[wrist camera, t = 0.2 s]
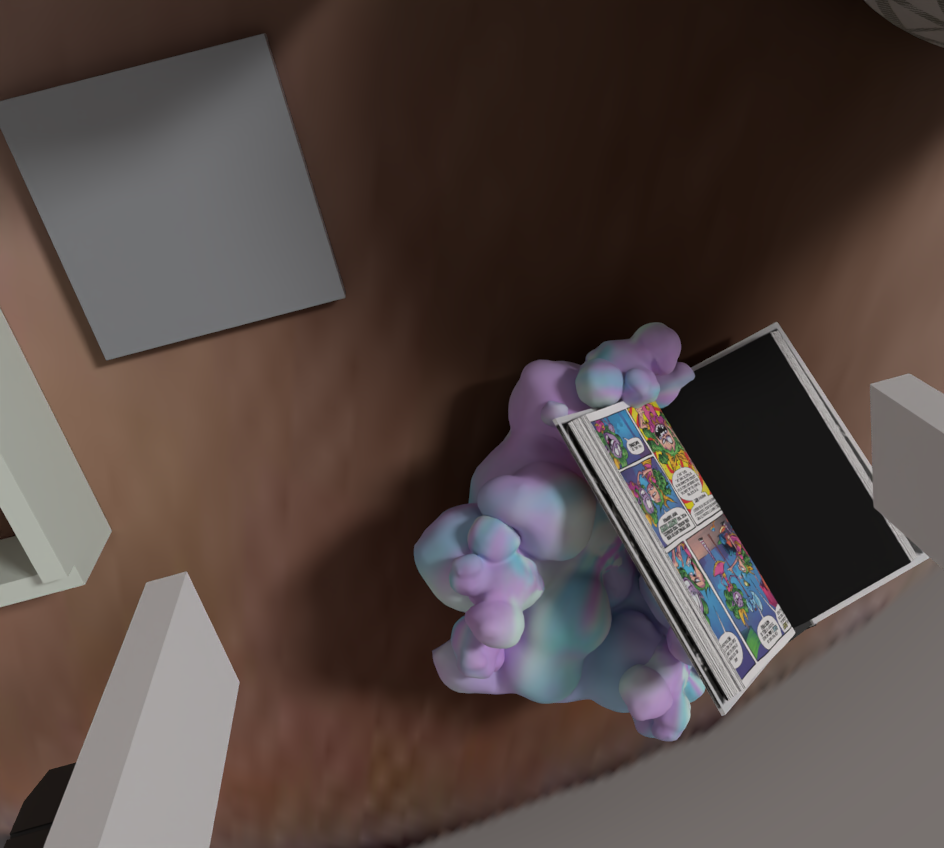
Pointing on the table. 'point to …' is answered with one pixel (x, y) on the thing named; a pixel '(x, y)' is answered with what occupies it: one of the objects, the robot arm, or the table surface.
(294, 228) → the slate tile
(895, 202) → the table surface
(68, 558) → the frame
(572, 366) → the pastel lumpy cloud blob
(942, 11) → the planter
